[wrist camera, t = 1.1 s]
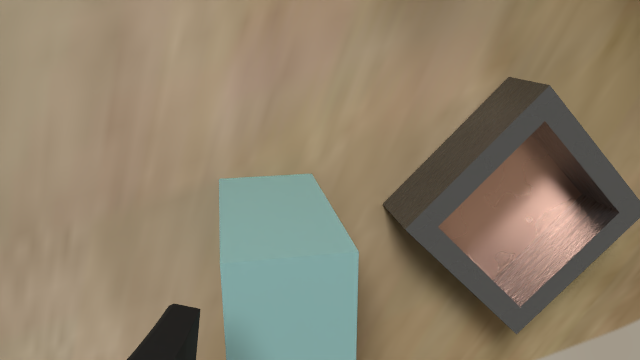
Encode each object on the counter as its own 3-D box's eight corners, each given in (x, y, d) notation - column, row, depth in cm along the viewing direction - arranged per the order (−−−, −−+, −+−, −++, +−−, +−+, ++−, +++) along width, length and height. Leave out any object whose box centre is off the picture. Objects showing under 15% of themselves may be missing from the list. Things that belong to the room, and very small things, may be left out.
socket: (484, 300, 26) (516, 334, 23) (382, 204, 24) (405, 229, 21) (600, 189, 26) (647, 210, 23) (508, 77, 23) (549, 85, 20)
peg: (312, 256, 24) (355, 366, 16) (224, 263, 23) (228, 382, 16) (311, 173, 23) (358, 251, 15) (219, 179, 22) (220, 263, 14)
